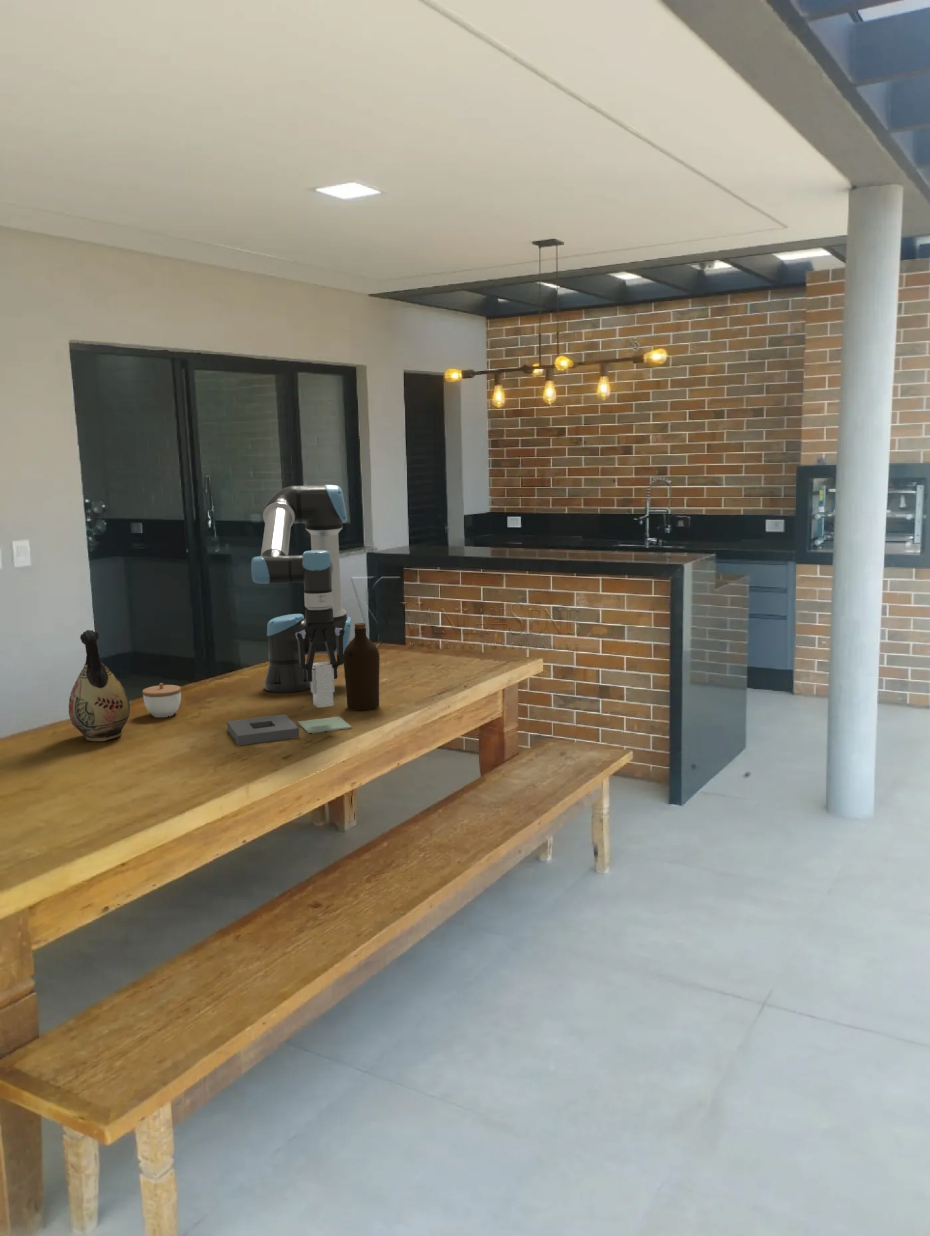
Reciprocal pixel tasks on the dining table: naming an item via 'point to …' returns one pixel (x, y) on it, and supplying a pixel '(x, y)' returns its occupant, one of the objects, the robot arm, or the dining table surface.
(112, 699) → the ceramic jug
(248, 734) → the pocket block
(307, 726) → the green mat
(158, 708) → the lidded jar
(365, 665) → the olive oil
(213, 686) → the dining table surface
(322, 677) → the metal peg
